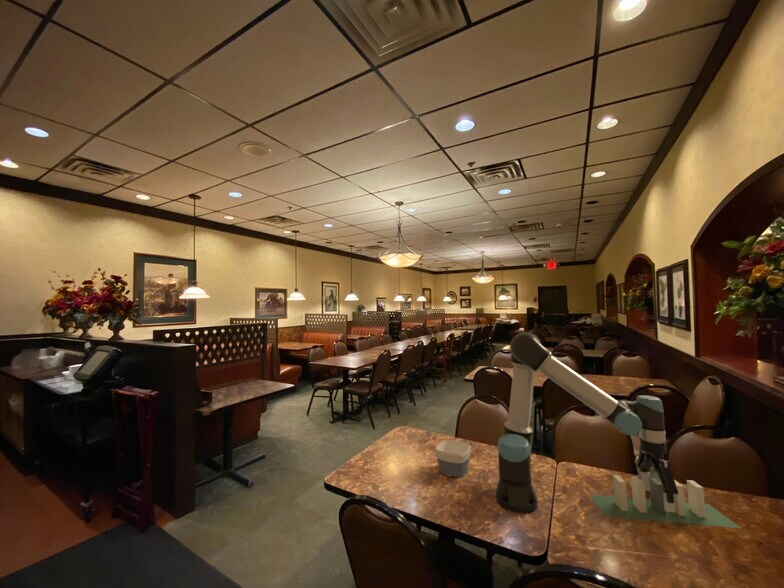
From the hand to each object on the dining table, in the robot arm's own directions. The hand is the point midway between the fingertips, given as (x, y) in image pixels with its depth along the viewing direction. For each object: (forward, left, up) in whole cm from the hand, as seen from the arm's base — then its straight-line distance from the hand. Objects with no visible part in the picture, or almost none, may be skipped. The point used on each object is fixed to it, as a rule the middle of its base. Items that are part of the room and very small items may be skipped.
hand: (657, 500), depth 115 cm
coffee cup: (+5, +15, -4) cm, 16 cm away
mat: (0, 0, -4) cm, 4 cm away
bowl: (-73, +19, -4) cm, 76 cm away
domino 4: (+12, 0, -3) cm, 12 cm away
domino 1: (-12, 0, -3) cm, 12 cm away
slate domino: (0, 0, -3) cm, 3 cm away
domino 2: (-6, 0, -3) cm, 7 cm away
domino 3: (+6, 0, -3) cm, 7 cm away
